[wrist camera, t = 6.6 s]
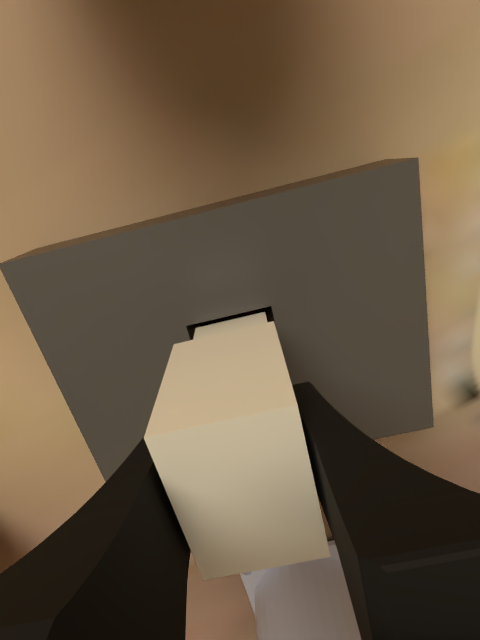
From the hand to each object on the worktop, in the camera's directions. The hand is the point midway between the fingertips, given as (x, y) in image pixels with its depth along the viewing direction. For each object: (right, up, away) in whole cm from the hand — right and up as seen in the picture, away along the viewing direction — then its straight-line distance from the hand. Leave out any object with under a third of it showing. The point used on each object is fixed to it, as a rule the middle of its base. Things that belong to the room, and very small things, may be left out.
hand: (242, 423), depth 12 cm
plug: (0, +2, +5) cm, 5 cm away
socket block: (0, +3, +7) cm, 8 cm away
